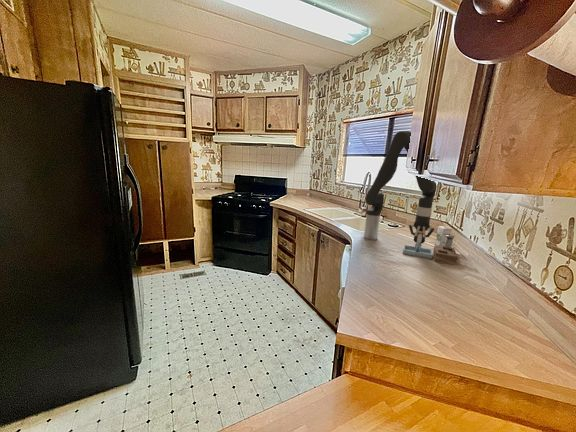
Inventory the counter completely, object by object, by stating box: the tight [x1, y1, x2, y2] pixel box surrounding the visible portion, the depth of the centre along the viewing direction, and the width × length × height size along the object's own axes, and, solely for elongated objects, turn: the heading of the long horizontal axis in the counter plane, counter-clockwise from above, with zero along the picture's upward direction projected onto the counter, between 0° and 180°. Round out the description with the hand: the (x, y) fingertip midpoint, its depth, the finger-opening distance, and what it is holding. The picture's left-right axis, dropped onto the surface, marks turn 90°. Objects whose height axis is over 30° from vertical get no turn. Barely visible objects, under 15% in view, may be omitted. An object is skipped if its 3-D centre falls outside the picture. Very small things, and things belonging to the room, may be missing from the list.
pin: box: [444, 234, 455, 250], centre depth 144 cm, size 4×4×13 cm
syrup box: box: [434, 225, 453, 246], centre depth 158 cm, size 6×6×14 cm
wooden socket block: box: [432, 244, 458, 266], centre depth 142 cm, size 16×10×5 cm, turn 153°
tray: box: [402, 244, 434, 260], centre depth 149 cm, size 10×15×2 cm
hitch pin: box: [414, 231, 423, 252], centre depth 147 cm, size 4×4×13 cm
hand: (418, 242), depth 147 cm, fingers closed on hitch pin, 3 cm apart
